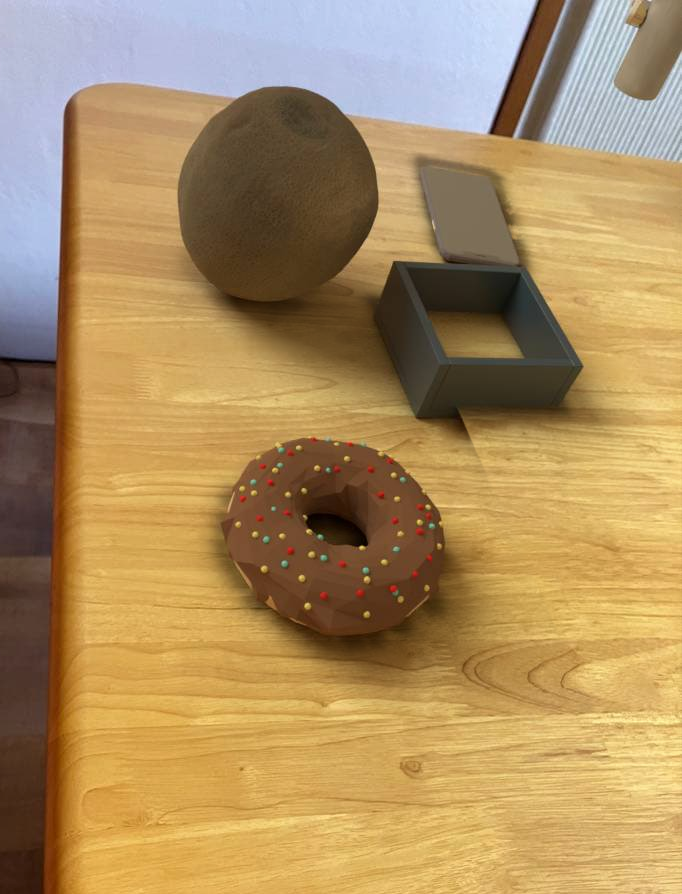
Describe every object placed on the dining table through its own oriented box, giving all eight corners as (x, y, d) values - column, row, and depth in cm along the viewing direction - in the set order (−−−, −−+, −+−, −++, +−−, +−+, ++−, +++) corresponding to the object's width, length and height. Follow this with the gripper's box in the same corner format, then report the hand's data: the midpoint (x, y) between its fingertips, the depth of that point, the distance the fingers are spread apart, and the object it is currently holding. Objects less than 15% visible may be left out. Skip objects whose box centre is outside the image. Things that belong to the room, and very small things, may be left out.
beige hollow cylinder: (612, 92, 85) (670, -26, 77) (612, 73, 88) (668, -42, 80) (657, 106, 85) (719, -10, 77) (655, 87, 88) (715, -27, 80)
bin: (499, 319, 75) (526, 266, 71) (551, 417, 68) (584, 366, 64) (373, 315, 72) (393, 260, 68) (415, 418, 65) (440, 364, 61)
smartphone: (491, 176, 88) (523, 266, 79) (488, 185, 89) (518, 275, 79) (419, 163, 86) (442, 253, 77) (416, 172, 87) (439, 262, 78)
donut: (241, 451, 59) (255, 397, 56) (435, 505, 60) (462, 455, 56) (192, 625, 50) (204, 575, 47) (421, 685, 51) (452, 641, 47)
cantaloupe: (194, 349, 65) (227, 158, 53) (150, 232, 72) (171, 43, 61) (366, 340, 69) (431, 163, 58) (308, 232, 77) (356, 56, 65)
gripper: (634, -177, 79) (565, -25, 80) (856, -97, 77) (782, 57, 78) (616, -128, 85) (553, 12, 86) (822, -53, 83) (753, 89, 84)
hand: (663, 34), depth 82 cm, fingers closed on beige hollow cylinder, 4 cm apart
